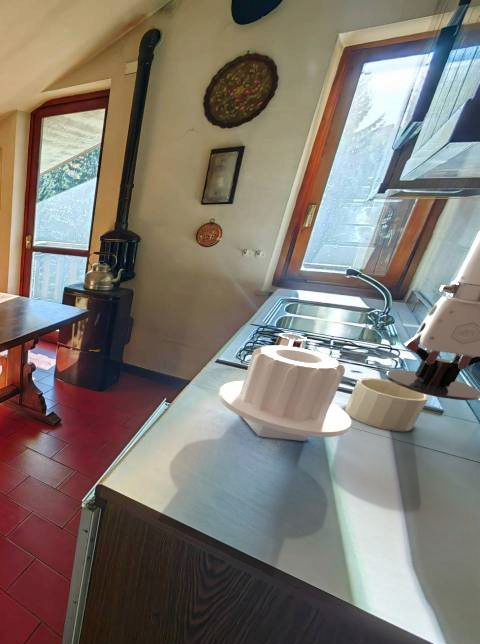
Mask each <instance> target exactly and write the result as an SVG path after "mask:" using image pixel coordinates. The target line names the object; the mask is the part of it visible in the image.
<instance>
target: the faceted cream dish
mask: <svg viewBox="0 0 480 644" xmlns="http://www.w3.org/2000/svg"><path fill="white" fill-rule="evenodd" d="M429 398H430V395H426V394H423V393H419V392H416V391H413V390H410V389H407V388H405V387H402V386H400V385H397V384H395V383H393V382H391V381H390V380H388V379H383V378H375V377H374V378H373V377H365V378H364V377H363V378H359V379H358V380H357V381H356V383H355V386H354V388H353V390H352V393H351V394H350V397H349V399H348V400H347V403H346V406H345V409H344V411H345V412H346V413H347V414H348V415H349V417H350V418H353V419H354V420H355V421H358V422H360V423H363V424H366V425H369V426H370V427H375V428H378V429H381V430H387V431H393V432H409V431H411V430H412V429H413V428H414V426H415V424H416V422H417V420H418V418H419V417H420V415H421V413H422V411H423V410H424V409H425V408H424V407H425V406H426V404H427V402H428V400H429Z"/></svg>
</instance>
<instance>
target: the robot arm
mask: <svg viewBox="0 0 480 644" xmlns="http://www.w3.org/2000/svg"><path fill="white" fill-rule="evenodd" d="M438 291H439V292H440V293H441V292H442V293H445V295H446V296H441V297H439V299H438V300H437V302H435V304H434V305H433V306H432V307H431V309H430V310H429V312H428V313H427V314H426V316H425V318H424V319H423V321H422V322H421V324H420V326H419V328H418V329H417V330H416V333H415V334H414V335H413V336H412V337H411V338H410V339H408V340H407V341H406V342H404V343H403V347H405V348H406V349H408V350H410V351H411V352H412V353H415V354H416V355H417V356H418V357H419V359H420V360H421V362H420V364H419V366H418V367H417V370H416V371H415V372H416V374H415V375H416V376H417V379H418V380H419V381H420V382H422V383H427V382H428V381H429V379H430V377H431V375H432V373H433V371H434V370H435V368H436V366H435V365H434V363H435V360H436V359H437V358H438V357H439V356H440V354H441V353H447V354H453V358H452V360H451V361H452V364H451V366H450V368H449V370H448V372H447V373H446V375H445V377H444V379H443V381H442V383H441V384H442V385H443V386H446V387H449V386H450V384H451V382H454V381H457V378H458V376H459V375H460V372H461V371H462V370H465V369H467V368H468V367H470V366H472V365H475V364H478V363H480V231H478V233H477V235H476V237H475V239H474V241H473V243H472V245H471V247H470V249H469V251H468V252H467V254H466V257H465V258H464V260H463V262H462V264H461V267H460V269H459V271H458V272H457V275H456V276H455V279H454V280H452V281H451V282H450V283H449V284H448V283H447V284H441V285H440V287H439V290H438ZM419 345H420V346H419Z"/></svg>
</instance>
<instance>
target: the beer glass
mask: <svg viewBox="0 0 480 644" xmlns="http://www.w3.org/2000/svg"><path fill="white" fill-rule="evenodd" d="M307 340H308V338H307V337H306V336H303V335H300V334H295V333H287V332H283V333H282V332H281V333H279V334H278V336H277V338H276V340H275V343H274V345H273V346H279V345H282V346H290V347H297V348H302V349H306V345H307Z"/></svg>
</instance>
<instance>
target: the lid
mask: <svg viewBox="0 0 480 644" xmlns="http://www.w3.org/2000/svg"><path fill="white" fill-rule="evenodd" d="M451 364H452V360H449V359H445V358H440V357H439V358H438V357H437V359H436V360H435V363H434V365H435V366H436V368H435V370H434V371H433V373H432V375H431V377H430V379H429V381H428V382H427V383H422V382H420V381H419V380H418V379H417V376H416V375H415V374H416V371H415V370H404V369H392V370H389V371H387V372H386V373H385V378H386V380H389V381H391V382H393V383H395V384H397V385H400V386H402V387H405V388H407V389H410V390H413V391H416V392H419V393H423V394H426V395H428V396H430V397H436V398H442V399H449V400H456V401H478V400H480V390H479V389H477V388H475V387H473V386H471V385H469V384H467V383H464V382H461V381H458V380H455V381H454V382H451V384H450V386H449V387H446V386H443V385H442V384H441V383H442V381H443V379H444V377H445V375H446V373H447V372H448V370H449V368H450V366H451Z"/></svg>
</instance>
